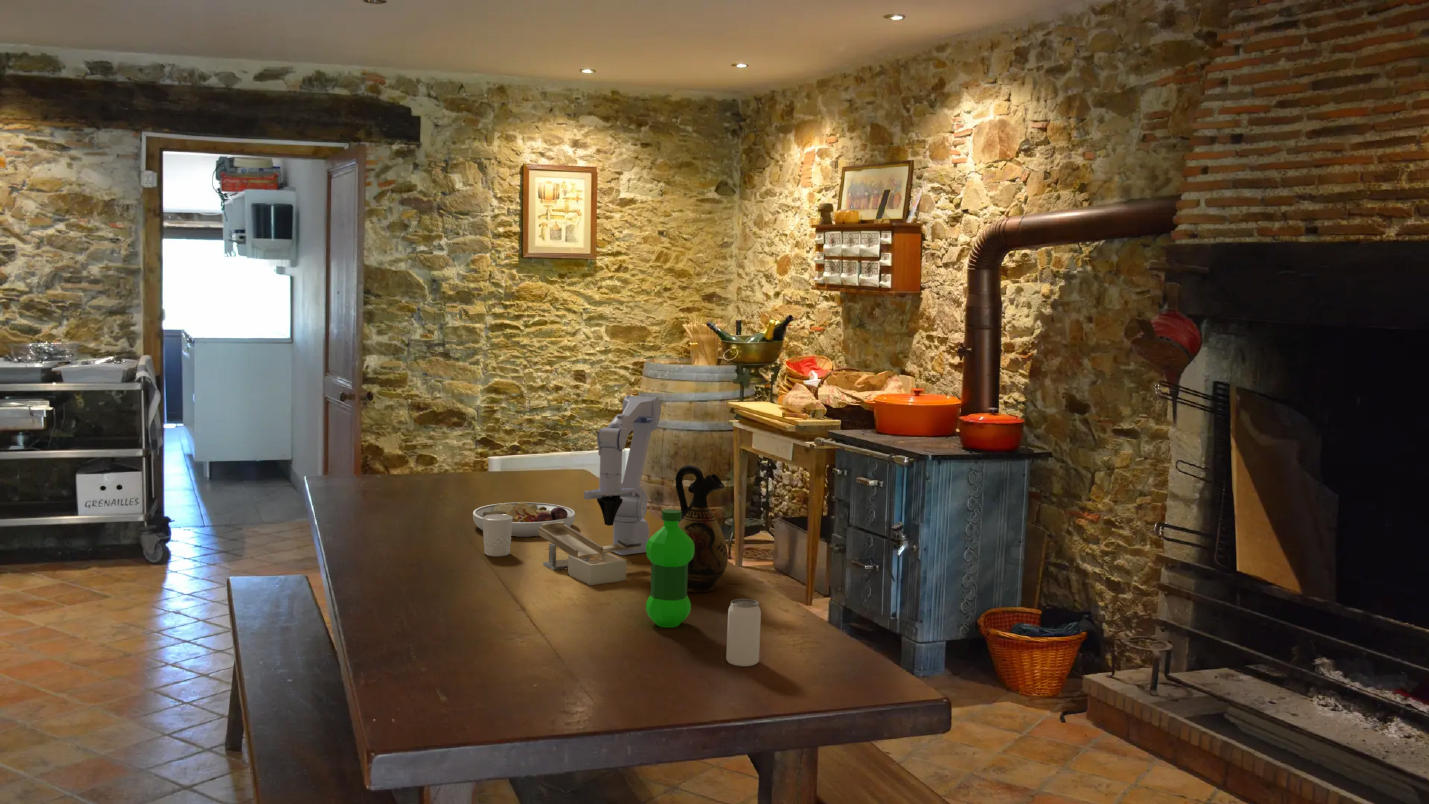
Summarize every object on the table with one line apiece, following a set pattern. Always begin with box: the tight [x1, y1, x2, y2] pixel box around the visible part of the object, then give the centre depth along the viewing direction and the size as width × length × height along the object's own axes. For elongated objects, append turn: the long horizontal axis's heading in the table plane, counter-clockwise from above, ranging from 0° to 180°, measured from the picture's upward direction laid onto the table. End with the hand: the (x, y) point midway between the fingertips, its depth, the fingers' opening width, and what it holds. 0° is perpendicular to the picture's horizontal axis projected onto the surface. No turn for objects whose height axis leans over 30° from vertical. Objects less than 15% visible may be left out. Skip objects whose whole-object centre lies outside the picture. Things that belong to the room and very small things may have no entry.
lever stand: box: [542, 543, 591, 571], centre depth 291 cm, size 12×6×6 cm, turn 126°
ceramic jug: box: [675, 464, 729, 594], centre depth 273 cm, size 17×15×30 cm
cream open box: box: [567, 552, 627, 586], centre depth 280 cm, size 10×11×5 cm
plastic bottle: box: [645, 508, 695, 628], centre depth 243 cm, size 10×10×25 cm
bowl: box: [472, 500, 576, 538], centre depth 334 cm, size 30×30×8 cm
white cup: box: [482, 514, 513, 557], centre depth 301 cm, size 8×8×10 cm
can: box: [725, 598, 762, 668], centre depth 220 cm, size 6×6×12 cm
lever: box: [538, 522, 641, 559], centre depth 294 cm, size 19×21×3 cm
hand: (608, 524), depth 294 cm, fingers closed
